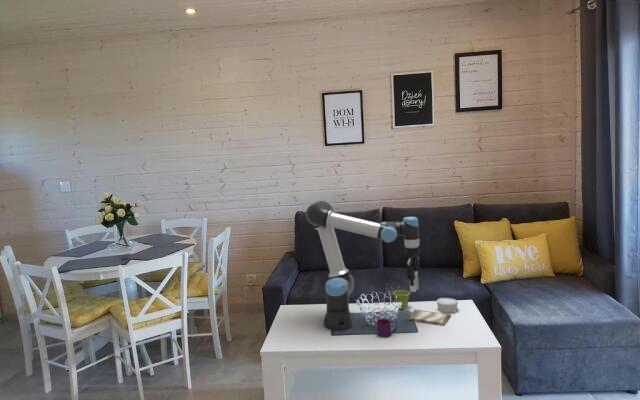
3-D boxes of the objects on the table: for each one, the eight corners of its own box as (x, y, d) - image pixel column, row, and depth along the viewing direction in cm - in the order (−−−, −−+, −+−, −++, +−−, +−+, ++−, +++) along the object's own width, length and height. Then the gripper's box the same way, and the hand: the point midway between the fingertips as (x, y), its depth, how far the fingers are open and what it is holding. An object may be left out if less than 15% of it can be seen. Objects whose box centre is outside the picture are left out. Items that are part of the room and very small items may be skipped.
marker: (409, 291, 232) (408, 272, 231) (412, 289, 235) (411, 270, 234) (416, 292, 230) (415, 273, 229) (418, 290, 233) (417, 271, 232)
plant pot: (400, 303, 258) (399, 289, 257) (413, 307, 251) (413, 292, 250) (390, 308, 252) (389, 293, 251) (403, 312, 245) (403, 296, 244)
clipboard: (406, 320, 233) (405, 317, 233) (414, 310, 246) (414, 308, 246) (444, 325, 223) (444, 323, 223) (451, 315, 236) (451, 313, 236)
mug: (376, 332, 220) (376, 318, 219) (396, 331, 219) (396, 318, 218) (377, 337, 213) (377, 324, 212) (398, 337, 212) (398, 323, 212)
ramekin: (457, 307, 248) (457, 298, 248) (458, 314, 238) (458, 304, 237) (436, 306, 251) (436, 297, 251) (436, 313, 241) (436, 304, 240)
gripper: (413, 250, 221) (415, 295, 224) (424, 243, 235) (426, 286, 237) (399, 249, 225) (401, 294, 228) (411, 242, 239) (413, 285, 242)
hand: (414, 290), depth 233 cm, fingers closed on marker, 3 cm apart
